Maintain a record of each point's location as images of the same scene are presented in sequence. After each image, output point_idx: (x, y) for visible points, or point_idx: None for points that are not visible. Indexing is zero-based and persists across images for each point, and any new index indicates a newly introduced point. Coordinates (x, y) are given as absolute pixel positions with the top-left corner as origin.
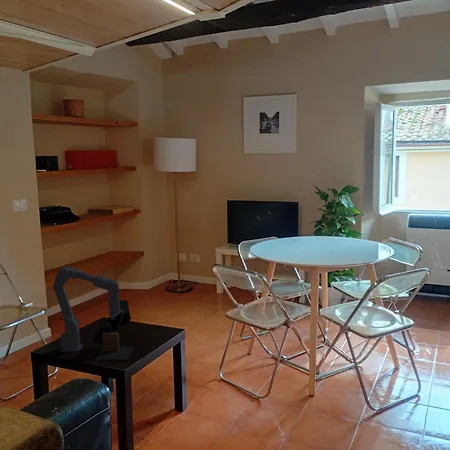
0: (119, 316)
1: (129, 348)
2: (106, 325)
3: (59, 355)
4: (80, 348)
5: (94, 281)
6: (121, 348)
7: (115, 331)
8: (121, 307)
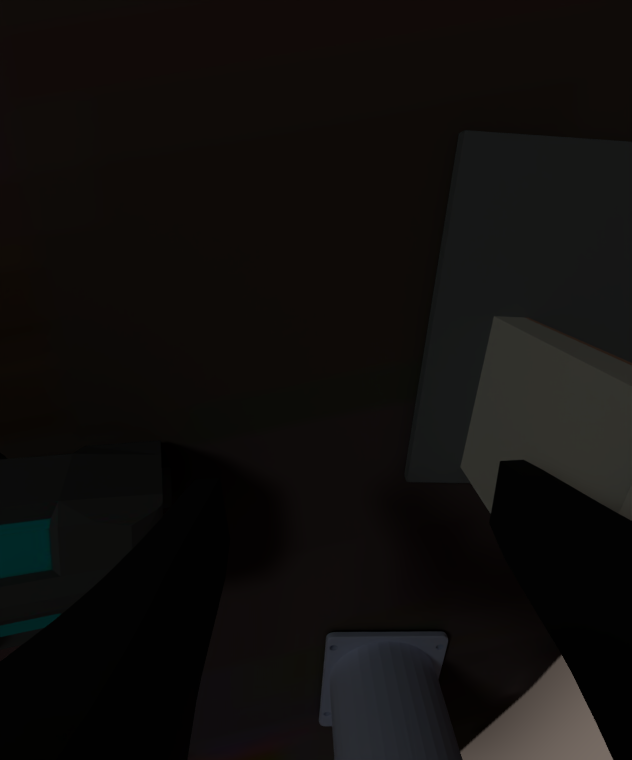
0: (131, 686)
1: (502, 188)
2: (45, 625)
3: (482, 704)
4: (400, 634)
5: None
6: (478, 295)
7: (117, 466)
8: None
